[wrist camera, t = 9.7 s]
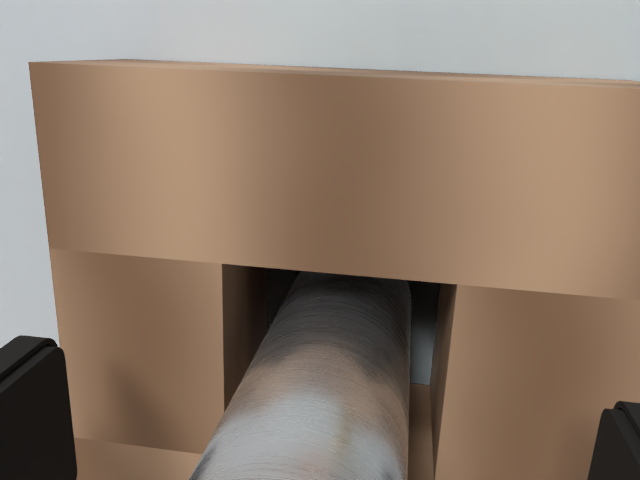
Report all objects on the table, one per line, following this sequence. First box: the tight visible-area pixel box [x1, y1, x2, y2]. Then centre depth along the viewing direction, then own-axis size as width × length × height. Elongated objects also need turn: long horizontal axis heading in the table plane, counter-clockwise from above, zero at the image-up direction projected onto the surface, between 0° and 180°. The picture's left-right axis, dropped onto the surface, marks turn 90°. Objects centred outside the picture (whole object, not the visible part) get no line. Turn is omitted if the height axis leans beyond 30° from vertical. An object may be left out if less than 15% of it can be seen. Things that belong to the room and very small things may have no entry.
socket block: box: [29, 59, 640, 480], centre depth 14 cm, size 12×12×4 cm
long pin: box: [189, 271, 411, 480], centre depth 10 cm, size 3×3×12 cm
